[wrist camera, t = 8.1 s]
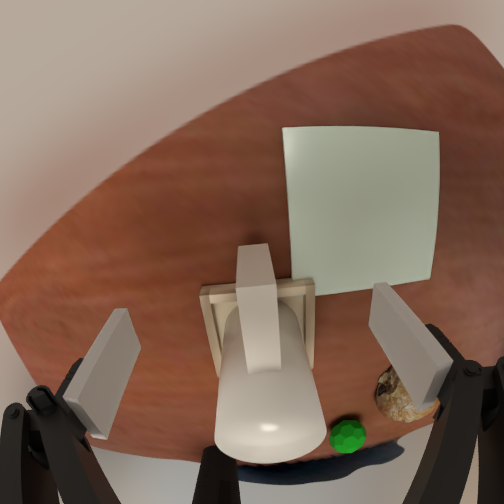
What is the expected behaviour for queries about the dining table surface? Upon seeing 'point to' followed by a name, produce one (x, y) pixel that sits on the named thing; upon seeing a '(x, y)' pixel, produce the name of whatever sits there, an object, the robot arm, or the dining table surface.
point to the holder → (225, 300)
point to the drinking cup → (217, 479)
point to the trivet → (361, 205)
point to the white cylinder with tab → (265, 372)
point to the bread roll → (397, 399)
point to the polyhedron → (347, 436)
